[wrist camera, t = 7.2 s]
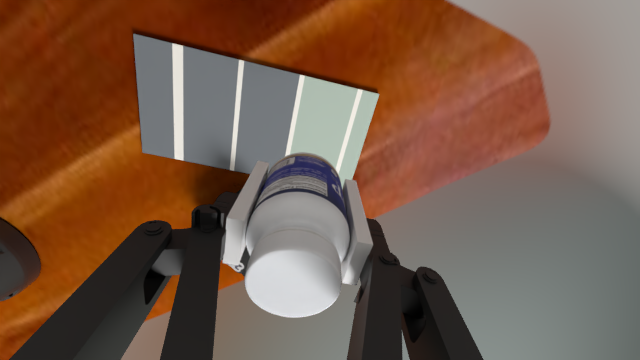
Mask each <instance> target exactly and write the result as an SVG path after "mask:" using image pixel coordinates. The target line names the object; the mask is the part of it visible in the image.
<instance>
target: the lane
mask: <svg viewBox="0 0 640 360" xmlns="http://www.w3.org/2000/svg"><path fill="white" fill-rule="evenodd" d="M133 37H134V49H135V62H136V75H137V88H138V101H139V113H140V126H141V139H142V152H143V153H148V154H153V155H158V156H163V157H168V158H173V159H178V160H183V161H188V162H193V163H198V164H203V165H208V166H212V167H217V168H222V169H227V170H232V171H237V172H242V173H247V174H251V172H252V171H253V169H254V167H255V165H256V163H257V161H262V162H267V163H269V168H268V173H269V171H270V169H271V168H272V167H273V165H274V164H275V163H276V162H277V161H279V160H280V159H281V158H283V157H285V156H287V155H290V154H293V153H300V152H305V153H312V154H316V155H318V156H321V157H323V158H324V159H326V160H327V161H328V162H330V163H331V164H332V165H333V167H334V168H335V169H336V171H337V173H338V175H339V177H340V181H341V186H342V188H343V185H344V182H345V179H349V180H352V178H353V175H354V172H355V169H356V166H357V162H358V159H359V156H360V153H361V150H362V147H363V144H364V140H365V137H366V134H367V131H368V128H369V125H370V122H371V119H372V115H373V112H374V109H375V106H376V103H377V100H378V97H379V94H378V93H374V92H370V91H366V90H362V89H357V88H353V87H349V86H345V85H341V84H337V83H333V82H329V81H325V80H321V79H317V78H313V77H309V76H305V75H301V74H296V73H292V72H288V71H284V70H280V69H276V68H272V67H268V66H264V65H260V64H256V63H252V62H248V61H244V60H240V59H236V58H231V57H227V56H223V55H219V54H215V53H211V52H207V51H203V50H199V49H195V48H191V47H187V46H183V45H179V44H175V43H171V42H166V41H162V40H158V39H154V38H150V37H146V36H142V35H138V34H133ZM267 175H268V174H267Z"/></svg>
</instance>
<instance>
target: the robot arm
mask: <svg viewBox="0 0 640 360" xmlns="http://www.w3.org/2000/svg"><path fill="white" fill-rule="evenodd" d="M268 168H269V163H267V162H262V161H257V163H256V165H255V167H254V169H253V171H252V172H251V174H250V176H249V178H248V180H247V181H246V183H245V185H244V187H243V189H242V191H241V192H240V194H237V193H232V192H224V193H223V194H221V195H219V197H218V198H217V200H216V202H215V203H214V204H213V205H210V204H208V205H201V206H198V207H196V208H195V209H194V210H193V211H192V227H191V228H187V229H172V228H171V225H170V224H169V223H167V222H165V221H160V220H154V221H148V222H145V223H143V224H141V225H140V226H138V227H137V228H136V229H135V230H134V231H133V232H132V233H131V234H130V235H129V236H128V237H127V238H126V239H125V240H124V241H123V242H122V243H121V244H120V245H119V246H118V247H117V249H116V250H115V251H114V252H113V253H112V254H111V255H110V256H109V257H108V258H107V259H106V260H105V261H104V262H103V263H102V264H101V265H100V266H99V267H98V268H97V269H96V270H95V271H94V272H93V273H92V274H91V275H90V276H89V277H88V278H87V280H86V281H85V282H84V283H83V284H82V285H81V286H80V287H79V288H78V289H77V290H76V291H75V292H74V293H73V294H72V295H71V296H70V297H69V298H68V299H67V300H66V301H65V302H64V303H63V304H62V305H61V306H60V307H59V308H58V309H57V311H56V312H55V313H54V314H53V315H52V316H51V317H50V318H49V319H48V320H47V321H46V322H45V323H44V324H43V325H42V326H41V327H40V328H39V329H38V330H37V331H36V332H35V333H34V334H33V335H32V336H31V337H30V338H29V339H28V340H27V342H26V343H25V344H24V345H23V346H22V347H21V348H20V349H19V350H18V351H17V352H16V353H15V354H14V355H13V356H12V357H11V358H10V359H9V360H121V358H122V356H123V355H124V353H125V351H126V350H127V348H128V346H129V345H130V343H131V342H132V340H133V338H134V337H135V335H136V333H137V332H138V330H139V328H140V327H141V325H142V324H143V322H144V320H145V319H146V317H147V315H148V314H149V312H150V311H151V309H152V307H153V306H154V304H155V302H156V301H157V299H158V297H159V296H160V294H161V293H162V291H163V289H164V288H165V286H166V284H167V283H168V281H169V279H170V278H171V276H172V275H180V278H179V282H178V286H177V290H176V295H175V299H174V303H173V307H172V311H171V316H170V320H169V324H168V328H167V332H166V336H165V341H164V345H163V349H162V353H161V357H160V360H212V358H213V346H214V333H215V321H216V309H217V296H218V284H219V272H220V262H221V260H222V258H223V263H226V264H232V265H239V263H240V260H241V257H242V255H243V252H244V249H245V247H246V231H247V226H248V223H249V220H250V217H251V215H252V212H253V210H254V208H255V205H256V203H257V201H258V198H259V196H260V193H261V191H262V188H263V186H264V183H265V180H266V178H267V174H268ZM342 192H343V198H344V204H345V209H346V215H347V221H348V226H349V234H350V242H349V248H348V251H347V254H346V256H345V258H344V259H343V261H342V263H341V275H342V283H346V284H352V285H357V282H358V280H359V278H360V281H361V286H360V288H359V291H358V293H357V296H356V298H355V300H354V302H356V308H355V314H354V320H353V326H352V332H351V339H350V344H349V350H348V356H347V360H402V332H403V336H404V339H405V343H406V347H407V350H408V354H409V358H410V360H483V358H482V356H481V354H480V352H479V350H478V348H477V346H476V344H475V342H474V340H473V338H472V336H471V334H470V332H469V330H468V328H467V326H466V324H465V322H464V320H463V318H462V316H461V314H460V312H459V310H458V308H457V306H456V304H455V302H454V300H453V298H452V296H451V294H450V292H449V290H448V288H447V286H446V284H445V282H444V280H443V279H442V277H441V276H440V275H439V274H438V273H437V272H436V271H434V270H432V269H430V268H427V267H419V268H418V269H417V270H416V272H414V271H411V270H409V269H407V268H405V267H403V266H401V265H400V262H399V260H398V259H397V257H396V256H395V255H393V254H392V253H390V251H389V248H388V245H387V243H386V239H385V237H384V234H383V231H382V228H381V225H380V224H379V223H378V222H377V221H376V220H374V219H369V218H366V216H365V213H364V209H363V205H362V202H361V198H360V194H359V190H358V187H357V183H356V181H353V180H349V179H345V182H344V185H343V188H342ZM40 268H41V266H40V260H39V257H38V255H37V253H36V251H35V249H34V248H33V246H32V245H31V244H30V243H29V241H28V240H27V239H26V238H25V237H24V236H23V235H22V234H21V233H19V232H18V231H17V230H16V229H14V228H13V227H12V226H10V225H9V224H7V223H6V222H4V221H3V220H1V219H0V301H3V300H6V299H9V298H11V297H13V296H15V295H17V294H18V293H20V292H21V291H22V290H24V289H25V288H26V287H27V286H29V285H30V284H31V283H32V282H34V281H35V280H36V279H37V277H38V276H39V273H40Z"/></svg>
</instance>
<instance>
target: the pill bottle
mask: <svg viewBox="0 0 640 360" xmlns="http://www.w3.org/2000/svg"><path fill="white" fill-rule="evenodd" d="M349 242H350V234H349V226H348V221H347V215H346V209H345V204H344V198H343V192H342V186H341V181H340V177H339V175H338V173H337V171H336V169H335V168H334V167H333V165H332V164H331V163H330V162H328V161H327V160H326V159H324V158H323V157H321V156H318V155H316V154H312V153H305V152H300V153H293V154H290V155H287V156H285V157H283V158H281V159H280V160H279V161H277V162H276V163H275V164H274V165H273V167H272V168H271V169H270V171H269V173H268V175H267V178H266V180H265V183H264V186H263V188H262V191H261V193H260V196H259V198H258V201H257V203H256V205H255V208H254V210H253V212H252V215H251V217H250V220H249V223H248V226H247V231H246V246H247V250H248V252H249V255H250V259H249V262H248V265H247V269H246V273H245V288H246V290H247V293H248V295H249V296H250V298H251V299H252V300H253V302H254V303H256V304H257V305H258V306H259V307H260V308H262V309H264V310H265V311H268V312H270V313H272V314H275V315H279V316H284V317H305V316H310V315H314V314H317V313H319V312H321V311H323V310H325V309H326V308H328V307H329V306H330V305H331V304H333V303H334V302H335V300H336V299H337V297H338V295H339V293H340V290H341V284H342V283H341V263H342V261H343V259H344V258H345V256H346V254H347V251H348V248H349Z"/></svg>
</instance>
